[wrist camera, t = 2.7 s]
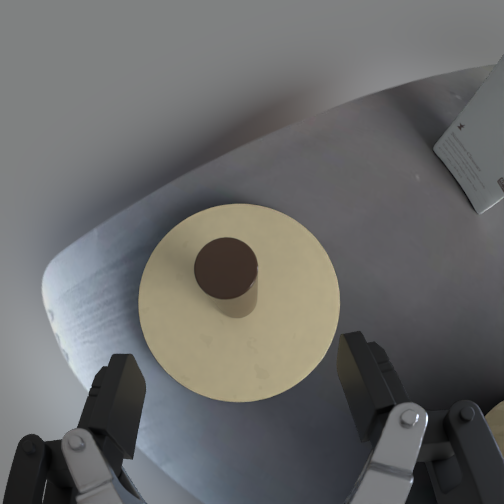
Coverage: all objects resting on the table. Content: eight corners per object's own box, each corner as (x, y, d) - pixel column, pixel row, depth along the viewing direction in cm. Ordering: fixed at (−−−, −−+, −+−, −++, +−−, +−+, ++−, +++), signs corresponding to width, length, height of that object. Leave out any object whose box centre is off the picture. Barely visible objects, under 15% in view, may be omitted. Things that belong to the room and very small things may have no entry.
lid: (206, 433, 17) (175, 483, 9) (115, 270, 21) (49, 225, 13) (371, 326, 20) (437, 309, 11) (266, 180, 23) (270, 100, 15)
